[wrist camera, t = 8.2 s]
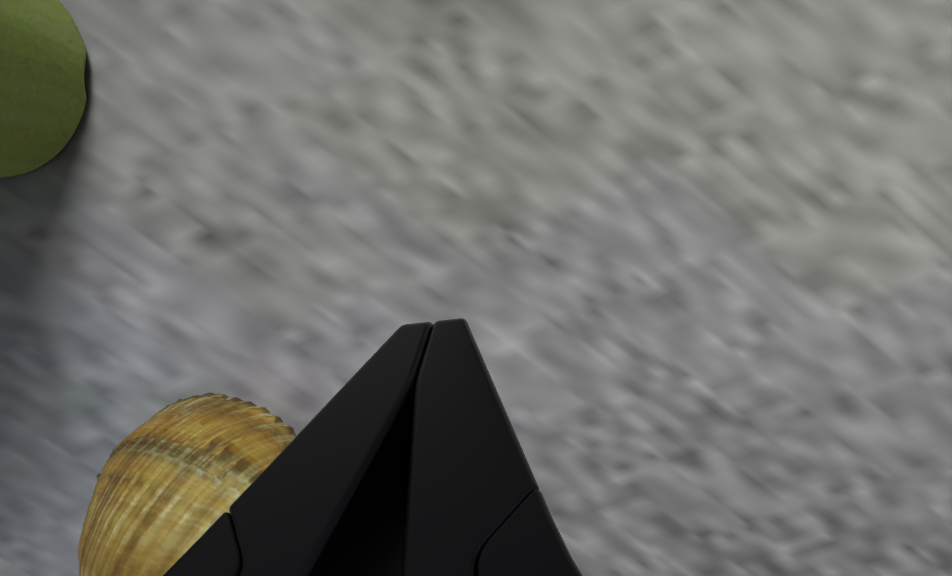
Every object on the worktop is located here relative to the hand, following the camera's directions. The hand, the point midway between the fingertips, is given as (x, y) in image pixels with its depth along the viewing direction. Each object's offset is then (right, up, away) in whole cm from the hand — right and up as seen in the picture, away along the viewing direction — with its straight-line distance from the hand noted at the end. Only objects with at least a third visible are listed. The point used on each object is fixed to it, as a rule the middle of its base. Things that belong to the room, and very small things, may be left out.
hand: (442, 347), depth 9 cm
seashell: (-8, -7, +16) cm, 19 cm away
